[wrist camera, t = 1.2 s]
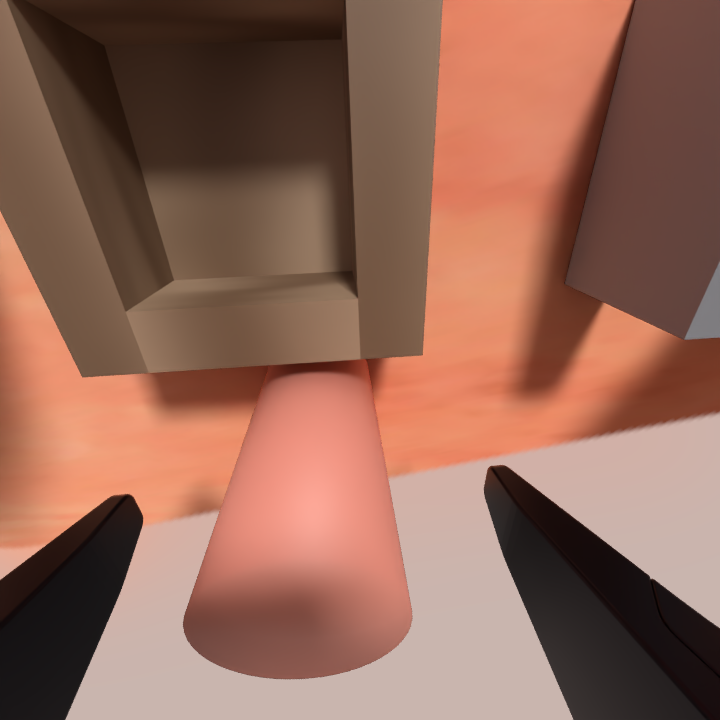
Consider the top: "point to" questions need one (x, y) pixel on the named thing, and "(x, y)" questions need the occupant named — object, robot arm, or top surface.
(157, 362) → the socket block
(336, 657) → the dowel
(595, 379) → the top surface
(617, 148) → the wall
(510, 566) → the robot arm
